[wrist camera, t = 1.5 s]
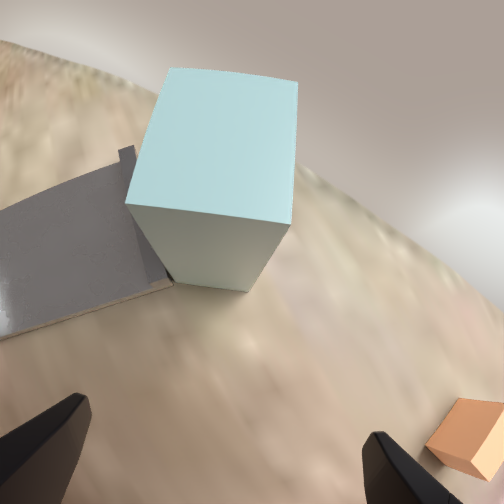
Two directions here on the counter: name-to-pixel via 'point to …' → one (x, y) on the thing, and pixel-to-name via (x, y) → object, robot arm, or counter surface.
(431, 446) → the block
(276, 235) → the block
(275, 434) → the counter surface
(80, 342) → the counter surface
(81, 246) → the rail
